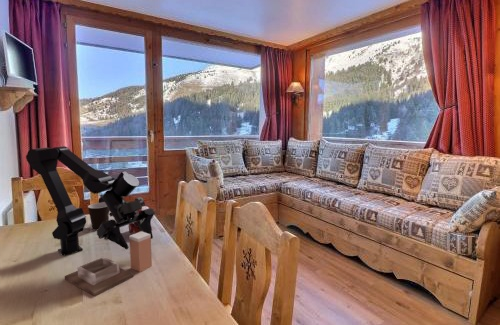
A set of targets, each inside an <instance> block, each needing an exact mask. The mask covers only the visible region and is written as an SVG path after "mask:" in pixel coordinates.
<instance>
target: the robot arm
mask: <svg viewBox="0 0 500 325" xmlns="http://www.w3.org/2000/svg"><path fill="white" fill-rule="evenodd" d="M25 159H26V161H27V163H28V164H29V166H30V168H31V170H34V171H35V172H36V173H37V174H39V175H40V176H41V179H42V181H43V183H44V185H45V187H46V189H47V191H48V193H49V195H50V198H51V200H52V201H53V204H54V207H55V208H56V211H57V215H56V224H57V226H56V228H55V229H54V230H53V231H52V232H51V235H52V237H53V239H54V240H55V239H57V240H59V242H60V248H58V249H57V252H58V253H59V254H60V255H61V256H63V257H65V256H68V255H72V254H74V253H78V252H81V251H84V249H83V248H82V247H81V246H80V239H79V234H80V233H81V232H83V231H84V229H85V226H86V223H87V215H86V214H85V212H84V210H83V208H82V206H81V207H76V206H75V205H74V204H73V201H72V200H71V198H70V195H69V194H68V192H67V189H66V187H65V185H64V183H63V181H62V178H61V177H60V174H59V172H58V170H57V169H58V168H57V167H58V162H59V163H61V164H62V165H64V166H65V167H66V168H67V169H69V170H70V171H72V172H73V173H74V174H75V175H77V176H78V177H79V178H80V179H81V180H82V182H83V185H84V187H85V188H86V189H87V190H88V191H89V192H90V193H92V194H93V195H95V194H96V195H97V194H100V193H103V192H104V193H103V194H100V195H99V198H98V203H106V205H107V207H108V208H109V218H110V217H111V218H112V217H113V218H114V219H109V221H106V222H103V223H102V224H101V226H100V227H99V229H98V230H96V235H97V237H98V239H100V240H101V239H104V240H105V241H106V240H109V241H111V242H113V243H115V244H116V245H117V246H120V247H121V248H123V249H124V250H129V249H130V246H129V245H128V243H127V241H126V239H125V238H124V236H123V235H122V233H121V229H120V228H122V227H125V226H129V224H132V223H135V222H138V223H139V224H141V225H140V228H141V229H142V230H143V231H144V232H145V233H148V234H151V240H152V239H154V236H153V231H152V230H153V229H152V230H151V227H152V224H151V223H152V222H151V221H152V219H153V218H154V216H155V214H156V212H155V210H154V209H153V208H150V207H149V208H146V209H143V207H144V206H145V204H146V203H145V199H143V196H139V197H136V198H135V199H134V200H132V201H128V200H126V199H125V197H129V195H130V194H131V193H132V192H134V190H136V188H137V187H138V186H139V185H140V181H139V179H138V178H137V177H136V176H134V175H133V174H131V173H128V172H127V171H126V170H123V171H121V172H120V173H119V174H118V176H117V177H116V178H115V177H112V176H111V175H110V174H108V173H107V172H105V171H102V170H99V169H95V168H94V167H92V166H91V165H89V163H87V162H85V161H84V160H83V159H82V158H80V157H79V156H78V155H77V154H76V153H74V152H72V151H71V149H70V148H69V147H68V146H65V145H62V146H54V147H52V148H51V147H40V148H39V147H38V148H31V149H29V150H28V151H27V153H26V154H25ZM139 209H141V210H142V211H141V212H140V214H139V215H138V216H134V215H135V214H136V213H137V210H139Z"/></svg>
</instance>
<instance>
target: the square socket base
mask: <svg viewBox="0 0 500 325" xmlns="http://www.w3.org/2000/svg"><path fill="white" fill-rule="evenodd" d="M76 269H77V270H75V271H73V272H71V273H68V274H67V275H64V279H65V280H66V281H67V282H70V283H71V284H72V285H74V286H77V287H78V288H80V289H82V290H83V291H85V292H87V293H88V294H90V295H92V296H93V297H97V296H98V295H100V294H102V293H104V292H106V291H108V290H111V289H112V288H114V287H115V286H116V287H117V286H118V285H120V284H123V283H125V281H127V280H130V279H132V278H133V277H134V273H132V272H130V271H127V270H126V269H123V268H121V267H120V263H118V262H116V261H114V260H111V259H109V258H107V257H105V256H103V257H100V258H98V259H95V260H93V261H90V262H87V263H85V264H83V265H80V266H77V268H76Z"/></svg>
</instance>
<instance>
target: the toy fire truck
mask: <svg viewBox="0 0 500 325" xmlns="http://www.w3.org/2000/svg"><path fill="white" fill-rule="evenodd" d="M142 210H143V209H139V210H137V213H136V214H135V215H134V216H138V215H139V214H140V212H141V211H142ZM140 225H141V224H139V223H138V222H135V223H132V224H129V225H127V227H128V232H130V233H132V235H133V234H136V233H138V232H141V231H142V232H144V231H143V230H142V229H141V228H140ZM152 228H153V227H152V226H151V230H153V229H152Z"/></svg>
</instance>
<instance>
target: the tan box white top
mask: <svg viewBox="0 0 500 325" xmlns="http://www.w3.org/2000/svg"><path fill="white" fill-rule="evenodd" d="M128 239H129V257H130V268H131V269H133V270H135V271H136V272H139V273H141V272H143V271H145V270H147V269H150V268H151V267H152V266H153V263H152V262H153V259H152V258H153V257H152V239H151V234H148V233H145V232H142V231H141V232H138V233H136V234H133V233H132V234H130V235H129V237H128Z"/></svg>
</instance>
